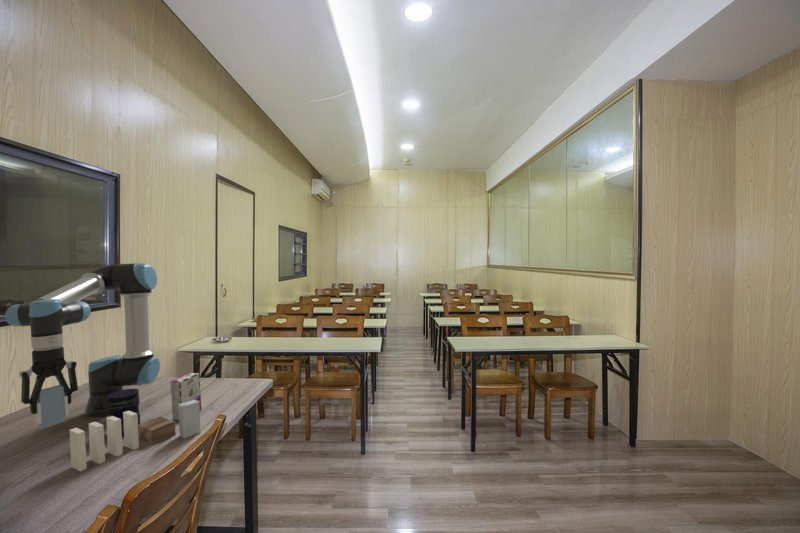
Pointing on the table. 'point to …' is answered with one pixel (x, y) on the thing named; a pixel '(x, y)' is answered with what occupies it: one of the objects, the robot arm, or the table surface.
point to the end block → (156, 430)
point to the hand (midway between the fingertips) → (52, 418)
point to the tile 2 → (96, 442)
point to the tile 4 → (130, 430)
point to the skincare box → (189, 418)
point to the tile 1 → (78, 449)
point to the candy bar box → (185, 392)
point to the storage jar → (123, 404)
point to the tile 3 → (114, 436)
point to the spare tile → (52, 406)
